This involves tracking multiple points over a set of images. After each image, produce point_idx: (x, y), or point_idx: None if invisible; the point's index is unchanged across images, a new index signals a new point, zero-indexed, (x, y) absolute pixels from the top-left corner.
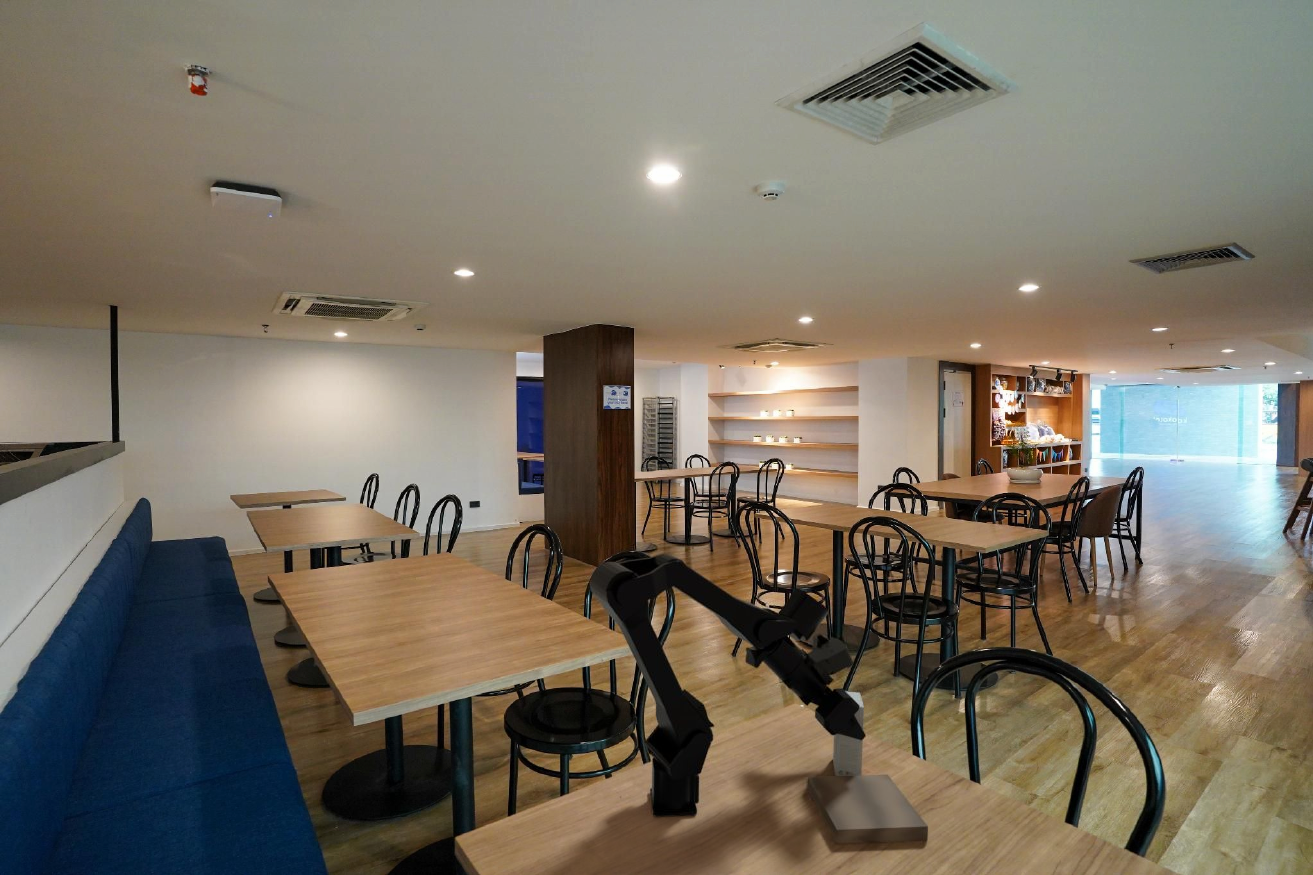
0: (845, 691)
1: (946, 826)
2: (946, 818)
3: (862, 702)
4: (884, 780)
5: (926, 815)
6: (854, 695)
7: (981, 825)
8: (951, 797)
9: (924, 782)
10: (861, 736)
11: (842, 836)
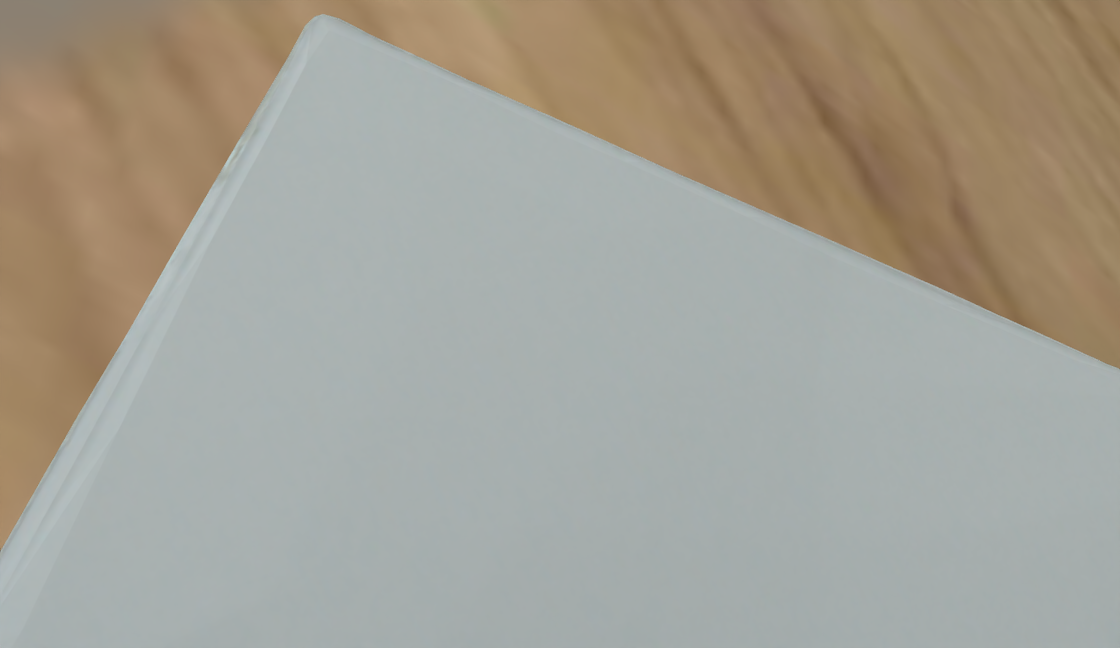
0: (143, 397)
1: (1116, 242)
2: (1047, 192)
3: (874, 262)
4: None
5: (1027, 291)
6: (487, 259)
7: (1092, 52)
8: (851, 22)
9: (682, 69)
10: None
11: None
